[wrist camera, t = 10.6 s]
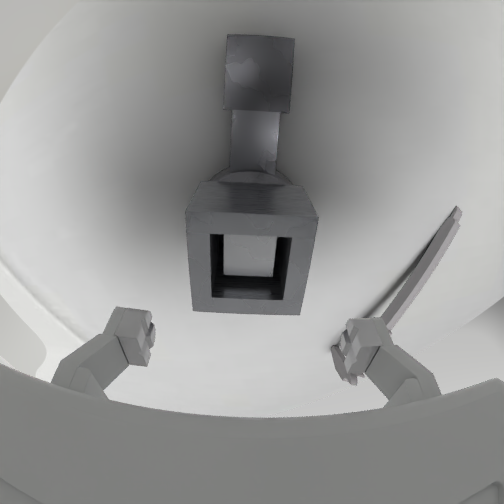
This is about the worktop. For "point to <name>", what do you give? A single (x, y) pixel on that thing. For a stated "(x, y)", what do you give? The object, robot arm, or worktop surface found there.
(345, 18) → the worktop surface
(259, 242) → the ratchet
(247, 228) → the grey metal block
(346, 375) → the caliper
